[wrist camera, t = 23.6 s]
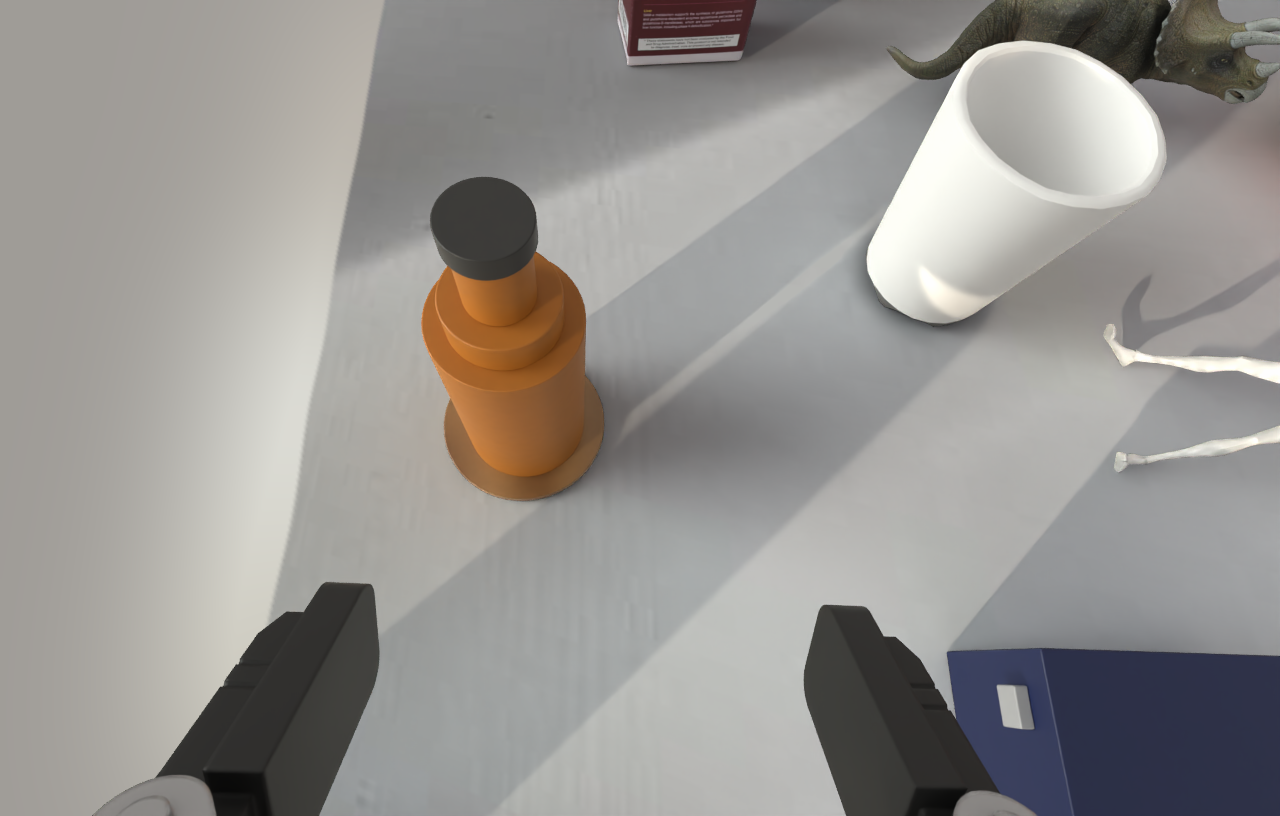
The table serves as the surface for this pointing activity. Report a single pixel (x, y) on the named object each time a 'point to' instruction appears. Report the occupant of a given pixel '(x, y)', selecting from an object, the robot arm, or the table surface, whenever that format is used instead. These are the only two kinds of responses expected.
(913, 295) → the cup
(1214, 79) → the toy dinosaur
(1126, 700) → the case
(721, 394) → the table surface
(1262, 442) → the figurine
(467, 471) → the coaster
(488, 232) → the bottle
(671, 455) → the table surface
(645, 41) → the supplement box
